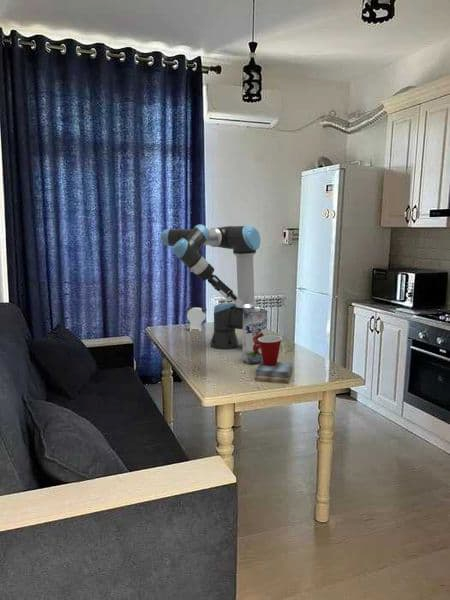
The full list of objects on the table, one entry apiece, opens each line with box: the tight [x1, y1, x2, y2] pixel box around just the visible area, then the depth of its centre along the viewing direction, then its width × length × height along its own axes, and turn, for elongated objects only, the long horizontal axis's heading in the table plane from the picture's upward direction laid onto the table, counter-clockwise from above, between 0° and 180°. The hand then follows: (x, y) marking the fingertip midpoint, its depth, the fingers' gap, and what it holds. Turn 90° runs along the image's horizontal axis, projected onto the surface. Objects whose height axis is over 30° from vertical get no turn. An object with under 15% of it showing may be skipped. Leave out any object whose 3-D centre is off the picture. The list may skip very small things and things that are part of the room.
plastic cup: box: [258, 335, 283, 366], centre depth 204 cm, size 11×11×12 cm
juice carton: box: [242, 306, 268, 365], centre depth 221 cm, size 9×10×27 cm
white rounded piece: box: [186, 306, 207, 331], centre depth 286 cm, size 12×11×15 cm
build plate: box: [254, 361, 293, 385], centre depth 202 cm, size 14×20×4 cm
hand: (235, 301), depth 205 cm, fingers open, 13 cm apart
